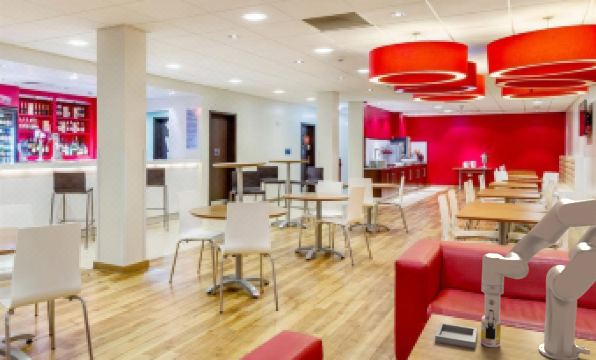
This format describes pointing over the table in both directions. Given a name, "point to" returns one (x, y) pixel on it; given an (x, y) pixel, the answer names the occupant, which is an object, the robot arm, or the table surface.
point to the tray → (456, 335)
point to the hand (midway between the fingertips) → (490, 334)
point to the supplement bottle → (497, 333)
